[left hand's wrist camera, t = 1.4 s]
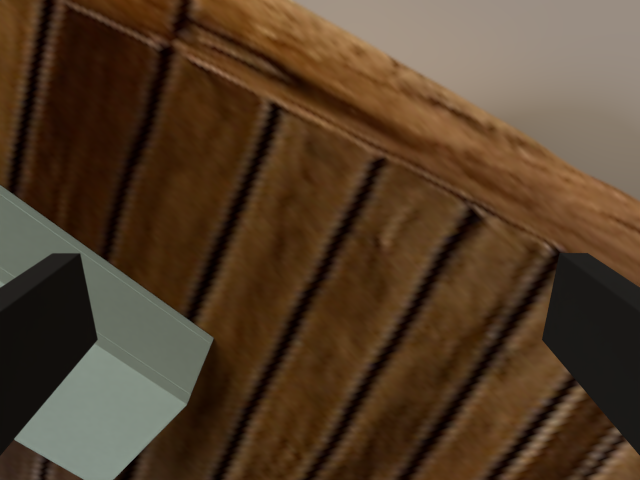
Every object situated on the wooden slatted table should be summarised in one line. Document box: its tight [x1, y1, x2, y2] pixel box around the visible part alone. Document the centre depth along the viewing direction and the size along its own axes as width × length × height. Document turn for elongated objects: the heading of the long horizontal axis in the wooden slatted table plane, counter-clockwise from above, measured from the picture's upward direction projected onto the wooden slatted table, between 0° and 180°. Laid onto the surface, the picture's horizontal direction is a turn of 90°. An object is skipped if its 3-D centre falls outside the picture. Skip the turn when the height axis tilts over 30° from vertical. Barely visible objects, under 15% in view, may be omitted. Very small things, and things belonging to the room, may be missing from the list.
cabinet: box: [0, 185, 214, 480], centre depth 35 cm, size 22×11×9 cm, turn 48°
